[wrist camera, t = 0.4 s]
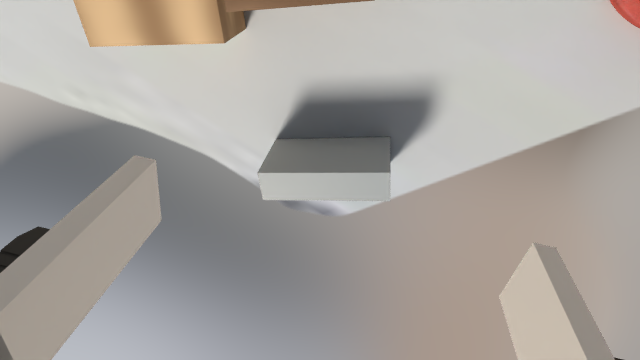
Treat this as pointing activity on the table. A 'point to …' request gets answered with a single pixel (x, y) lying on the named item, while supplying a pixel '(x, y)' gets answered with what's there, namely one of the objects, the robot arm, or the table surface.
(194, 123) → the table surface
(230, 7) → the slab
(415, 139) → the table surface
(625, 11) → the stacking bear
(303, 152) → the block
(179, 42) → the skid
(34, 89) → the table surface
